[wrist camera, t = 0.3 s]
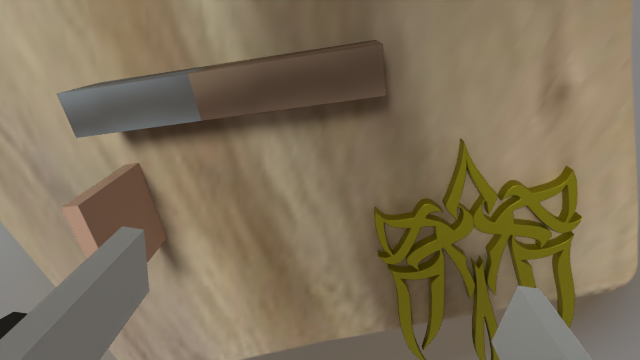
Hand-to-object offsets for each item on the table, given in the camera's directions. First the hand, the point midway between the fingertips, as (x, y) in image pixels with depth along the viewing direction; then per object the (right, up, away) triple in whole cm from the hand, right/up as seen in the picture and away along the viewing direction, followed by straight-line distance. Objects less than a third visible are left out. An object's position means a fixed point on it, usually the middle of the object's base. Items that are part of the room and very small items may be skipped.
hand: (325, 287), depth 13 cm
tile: (-21, +1, +29) cm, 36 cm away
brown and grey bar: (-9, +14, +23) cm, 28 cm away
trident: (+19, -7, +31) cm, 37 cm away
